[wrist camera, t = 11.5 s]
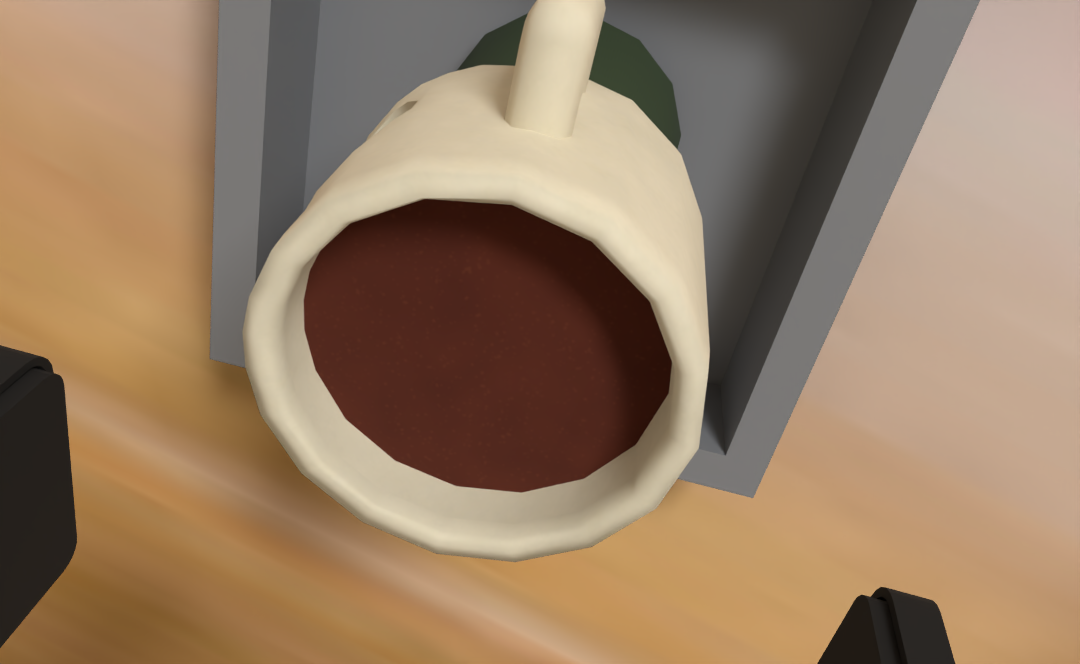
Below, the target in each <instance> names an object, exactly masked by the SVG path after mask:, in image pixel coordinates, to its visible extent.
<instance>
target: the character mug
mask: <svg viewBox="0 0 1080 664" xmlns="http://www.w3.org/2000/svg"><path fill="white" fill-rule="evenodd" d="M605 9H606V7H605V1H604V0H537V1H536V2H535V3H534V5H533V6H532V8H531V9H530V11H529V12H528V13H527V14H525V15H523V16H521V17H519V18H517V19H515V20H513V21H511V22H509V23H507V24H505V25H503V26H501V27H499V28H497V29H495V30H493V31H491V32H489V33H487V34H485V35H484V36H483V37H482V39H481V40H480V41H479V43H478V44H477V45H476V46H475V48H474V49H473V50H472V52H471V53H470V54H469V55H468V57H467V58H466V59H465V60H464V62H463V63H462V64H461V66H460V67H459V68H458V69H457V71H454V72H450V73H447V74H445V75H442V76H440V77H438V78H435V79H433V80H430V81H428V82H426V83H423V84H421V85H420V86H418V87H417V88H416V89H414V90H413V91H412V92H410V93H409V94H408V95H406V96H405V97H404V98H402V99H401V100H400V101H398V102H397V103H396V104H395V106H394V107H393V108H392V109H391V110H390V111H389V112H388V114H387V115H386V116H385V117H384V118H383V119H382V121H381V122H380V123H379V124H378V125H377V126H376V127H375V129H374V130H373V131H372V132H371V133H370V134H369V136H368V138H367V140H366V142H365V143H363V144H362V145H361V146H360V147H358V148H357V149H356V150H354V151H353V152H352V154H351V155H350V156H349V157H348V158H347V159H346V160H345V161H344V162H343V163H342V164H341V165H340V166H339V167H338V169H337V170H336V171H335V172H334V173H333V174H332V175H331V176H330V177H329V178H328V179H327V180H326V181H325V183H324V184H323V185H322V186H321V187H320V188H319V189H318V190H317V191H316V193H315V195H314V196H313V198H312V200H311V202H310V203H309V205H308V206H307V208H306V210H305V211H304V212H303V213H302V214H301V215H300V216H299V217H298V219H297V220H296V221H295V222H294V223H293V224H292V225H291V226H290V227H289V229H288V230H287V231H286V232H285V233H284V234H283V236H282V237H281V238H280V240H279V241H278V242H277V244H276V245H275V246H274V248H273V249H272V250H271V252H270V254H269V256H268V258H267V260H266V262H265V265H264V267H263V269H262V271H261V273H260V275H259V277H258V279H257V281H256V283H255V285H254V287H253V289H252V292H251V294H250V296H249V299H248V305H247V310H246V315H245V320H244V326H243V331H242V333H243V345H244V356H245V368H246V371H247V374H248V377H249V380H250V383H251V386H252V389H253V392H254V396H255V399H256V402H257V405H258V408H259V411H260V414H261V416H262V418H263V419H264V421H265V422H266V423H267V425H268V426H269V428H270V429H271V431H272V432H273V433H274V435H275V436H276V438H277V439H278V441H279V442H280V443H281V445H282V446H283V448H284V449H285V451H286V452H287V453H288V455H289V456H290V458H291V459H292V461H293V462H294V463H295V465H296V466H297V468H298V469H299V471H300V472H301V473H302V474H303V475H304V476H305V477H307V478H308V479H309V480H310V481H312V482H313V483H314V484H315V485H317V486H318V487H319V488H320V489H322V490H323V491H324V492H325V493H327V494H328V495H329V496H330V497H332V498H333V499H334V500H336V501H337V502H338V503H339V504H341V505H342V506H343V507H344V508H346V509H347V510H348V511H349V512H351V513H352V514H353V515H354V516H356V517H357V518H358V519H359V520H361V521H362V522H364V523H366V524H368V525H371V526H373V527H375V528H378V529H380V530H382V531H385V532H387V533H389V534H392V535H394V536H396V537H399V538H401V539H403V540H406V541H408V542H410V543H413V544H415V545H417V546H420V547H422V548H424V549H427V550H429V551H431V552H434V553H436V554H444V555H453V556H463V557H472V558H482V559H491V560H501V561H510V562H518V561H523V560H528V559H533V558H538V557H544V556H549V555H554V554H559V553H564V552H569V551H574V550H579V549H584V548H589V547H592V546H594V545H596V544H597V543H599V542H601V541H602V540H604V539H606V538H608V537H609V536H611V535H613V534H614V533H616V532H618V531H619V530H621V529H623V528H624V527H626V526H628V525H629V524H631V523H633V522H634V521H636V520H638V519H639V518H641V517H643V516H644V515H646V514H648V513H649V512H651V511H653V510H655V509H656V508H657V507H658V505H659V504H660V502H661V501H662V500H663V498H664V497H665V495H666V494H667V493H668V491H669V490H670V488H671V487H672V485H673V484H674V483H675V481H676V480H677V478H678V477H679V476H680V474H681V473H682V471H683V470H684V469H685V467H686V466H687V464H688V463H689V461H690V460H691V459H692V457H693V456H694V454H695V453H696V452H697V450H698V449H699V443H700V435H701V427H702V419H703V411H704V403H705V395H706V387H707V379H708V370H709V356H710V345H709V328H708V310H707V293H706V275H705V258H704V240H703V223H702V216H701V213H700V210H699V207H698V204H697V201H696V198H695V195H694V192H693V189H692V186H691V183H690V180H689V176H688V173H687V170H686V167H685V164H684V161H683V158H682V155H681V153H680V152H679V151H678V150H677V149H678V145H679V142H680V138H681V131H680V125H679V119H678V113H677V107H676V102H675V96H674V90H673V84H672V82H671V81H670V80H669V78H668V77H667V76H666V74H665V73H664V72H663V70H662V69H661V68H660V66H659V65H658V64H657V62H656V61H655V60H654V58H653V57H652V56H651V54H650V53H649V52H648V50H647V49H646V48H645V46H644V45H643V44H642V42H641V41H640V40H639V39H637V38H635V37H633V36H631V35H629V34H628V33H626V32H624V31H622V30H620V29H618V28H616V27H614V26H612V25H610V24H608V23H606V22H605V21H603V18H604V14H605Z"/></svg>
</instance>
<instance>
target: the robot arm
mask: <svg viewBox="0 0 1080 664" xmlns="http://www.w3.org/2000/svg"><path fill="white" fill-rule="evenodd" d="M76 543H77V532H76V520H75V509H74V497H73V485H72V473H71V461H70V449H69V437H68V425H67V413H66V402H65V390H64V383H63V379H62V378H61V376H60V375H58V374H55V373H54V372H53V368H52V364H51V363H50V362H49V360H48V359H46V358H44V357H41V356H37V355H34V354H30V353H26V352H23V351H19V350H15V349H12V348H8V347H4V346H1V345H0V648H1V646H2V645H3V644H4V643H5V642H6V640H7V639H8V638H9V637H10V635H11V634H12V633H13V632H14V631H15V629H16V628H17V627H18V626H19V625H20V623H21V622H22V621H23V620H24V619H25V617H26V616H27V615H28V614H29V612H30V611H31V610H32V609H33V608H34V606H35V605H36V604H37V603H38V602H39V600H40V599H41V598H42V597H43V596H44V594H45V593H46V592H47V591H48V590H49V588H50V587H51V586H52V585H53V583H54V582H55V581H56V580H57V579H58V577H59V576H60V575H61V574H62V573H63V571H64V570H65V569H66V567H67V566H68V564H69V562H70V560H71V559H72V556H73V554H74V551H75V547H76ZM818 664H955V661H954V658H953V654H952V651H951V647H950V644H949V640H948V637H947V633H946V630H945V626H944V623H943V619H942V616H941V613H940V610H939V608H938V606H937V604H936V603H935V602H934V601H933V600H929V599H926V598H922V597H918V596H915V595H911V594H907V593H904V592H900V591H896V590H893V589H889V588H885V587H880V588H879V589H877V590H876V591H875V592H874V593H873V595H872V596H871V597H869V596H865V595H860V596H858V597H857V598H856V600H855V601H854V602H853V604H852V606H851V608H850V609H849V611H848V613H847V614H846V616H845V618H844V619H843V621H842V623H841V625H840V626H839V628H838V630H837V631H836V633H835V635H834V636H833V638H832V640H831V641H830V643H829V645H828V647H827V648H826V650H825V652H824V653H823V655H822V657H821V658H820V660H819V662H818Z"/></svg>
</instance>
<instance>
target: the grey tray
mask: <svg viewBox="0 0 1080 664" xmlns="http://www.w3.org/2000/svg"><path fill="white" fill-rule="evenodd" d="M536 1H537V0H219V26H218V64H217V102H216V140H215V178H214V216H213V254H212V292H211V330H210V359H212V360H216V361H220V362H224V363H228V364H232V365H236V366H239V367H243V368H245V356H244V345H243V333H242V331H243V326H244V320H245V315H246V310H247V305H248V299H249V296H250V294H251V292H252V289H253V287H254V285H255V283H256V281H257V279H258V277H259V275H260V273H261V271H262V269H263V267H264V265H265V262H266V260H267V258H268V256H269V254H270V252H271V250H272V249H273V248H274V246H275V245H276V244H277V242H278V241H279V240H280V238H281V237H282V236H283V234H284V233H285V232H286V231H287V230H288V229H289V227H290V226H291V225H292V224H293V223H294V222H295V221H296V220H297V219H298V217H299V216H300V215H301V214H302V213H303V212H304V211H305V210H306V208H307V206H308V205H309V203H310V202H311V200H312V198H313V196H314V195H315V193H316V191H317V190H318V189H319V188H320V187H321V186H322V185H323V184H324V183H325V181H326V180H327V179H328V178H329V177H330V176H331V175H332V174H333V173H334V172H335V171H336V170H337V169H338V167H339V166H340V165H341V164H342V163H343V162H344V161H345V160H346V159H347V158H348V157H349V156H350V155H351V154H352V152H353V151H354V150H356V149H357V148H358V147H360V146H361V145H362V144H363V143H365V142H366V140H367V138H368V136H369V134H370V133H371V132H372V131H373V130H374V129H375V127H376V126H377V125H378V124H379V123H380V122H381V121H382V119H383V118H384V117H385V116H386V115H387V114H388V112H389V111H390V110H391V109H392V108H393V107H394V106H395V104H396V103H397V102H398V101H400V100H401V99H402V98H404V97H405V96H406V95H408V94H409V93H410V92H412V91H413V90H414V89H416V88H417V87H418V86H420V85H421V84H423V83H426V82H428V81H430V80H433V79H435V78H438V77H440V76H442V75H445V74H447V73H450V72H454V71H457V69H458V68H459V67H460V66H461V64H462V63H463V62H464V60H465V59H466V58H467V57H468V55H469V54H470V53H471V52H472V50H473V49H474V48H475V46H476V45H477V44H478V43H479V41H480V40H481V39H482V37H483V36H484V35H485V34H487V33H489V32H491V31H493V30H495V29H497V28H499V27H501V26H503V25H505V24H507V23H509V22H511V21H513V20H515V19H517V18H519V17H521V16H523V15H525V14H527V13H528V12H529V11H530V9H531V8H532V6H533V5H534V3H535V2H536ZM604 1H605V7H606V9H605V14H604V18H603V21H605V22H606V23H608V24H610V25H612V26H614V27H616V28H618V29H620V30H622V31H624V32H626V33H628V34H629V35H631V36H633V37H635V38H637V39H639V40H640V41H641V42H642V44H643V45H644V46H645V48H646V49H647V50H648V52H649V53H650V54H651V56H652V57H653V58H654V60H655V61H656V62H657V64H658V65H659V66H660V68H661V69H662V70H663V72H664V73H665V74H666V76H667V77H668V78H669V80H670V81H671V82H672V84H673V90H674V96H675V102H676V107H677V113H678V119H679V125H680V131H681V138H680V142H679V145H678V149H677V150H678V151H679V152H680V153H681V155H682V158H683V161H684V164H685V167H686V170H687V173H688V176H689V180H690V183H691V186H692V189H693V192H694V195H695V198H696V201H697V204H698V207H699V210H700V213H701V216H702V223H703V240H704V258H705V275H706V293H707V310H708V328H709V345H710V356H709V370H708V379H707V387H706V395H705V403H704V411H703V419H702V427H701V435H700V443H699V449H698V450H697V452H696V453H695V454H694V456H693V457H692V459H691V460H690V461H689V463H688V464H687V466H686V467H685V469H684V470H683V471H682V473H681V474H680V476H679V477H678V478H677V479H681V480H684V481H688V482H692V483H696V484H700V485H704V486H708V487H712V488H716V489H720V490H723V491H727V492H731V493H735V494H739V495H743V496H747V497H751V498H753V497H754V495H755V493H756V491H757V488H758V486H759V484H760V482H761V480H762V477H763V475H764V473H765V471H766V469H767V466H768V464H769V462H770V460H771V458H772V455H773V453H774V451H775V449H776V447H777V444H778V442H779V440H780V438H781V436H782V434H783V431H784V429H785V427H786V425H787V423H788V420H789V418H790V416H791V414H792V412H793V409H794V407H795V405H796V403H797V401H798V398H799V396H800V394H801V392H802V390H803V387H804V385H805V383H806V381H807V379H808V376H809V374H810V372H811V370H812V368H813V366H814V363H815V361H816V359H817V357H818V355H819V352H820V350H821V348H822V346H823V344H824V341H825V339H826V337H827V335H828V333H829V330H830V328H831V326H832V324H833V322H834V319H835V317H836V315H837V313H838V311H839V308H840V306H841V304H842V302H843V300H844V297H845V295H846V293H847V291H848V289H849V287H850V284H851V282H852V280H853V278H854V276H855V273H856V271H857V269H858V267H859V265H860V262H861V260H862V258H863V256H864V254H865V251H866V249H867V247H868V245H869V243H870V240H871V238H872V236H873V234H874V232H875V229H876V227H877V225H878V223H879V221H880V218H881V216H882V214H883V212H884V210H885V208H886V205H887V203H888V201H889V199H890V197H891V194H892V192H893V190H894V188H895V186H896V183H897V181H898V179H899V177H900V175H901V172H902V170H903V168H904V166H905V164H906V161H907V159H908V157H909V155H910V153H911V150H912V148H913V146H914V144H915V142H916V140H917V137H918V135H919V133H920V131H921V129H922V126H923V124H924V122H925V120H926V118H927V115H928V113H929V111H930V109H931V107H932V104H933V102H934V100H935V98H936V96H937V93H938V91H939V89H940V87H941V85H942V82H943V80H944V78H945V76H946V74H947V71H948V69H949V67H950V65H951V63H952V61H953V58H954V56H955V54H956V52H957V50H958V47H959V45H960V43H961V41H962V39H963V36H964V34H965V32H966V30H967V28H968V25H969V23H970V21H971V19H972V17H973V14H974V12H975V10H976V8H977V6H978V3H979V1H980V0H604Z"/></svg>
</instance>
